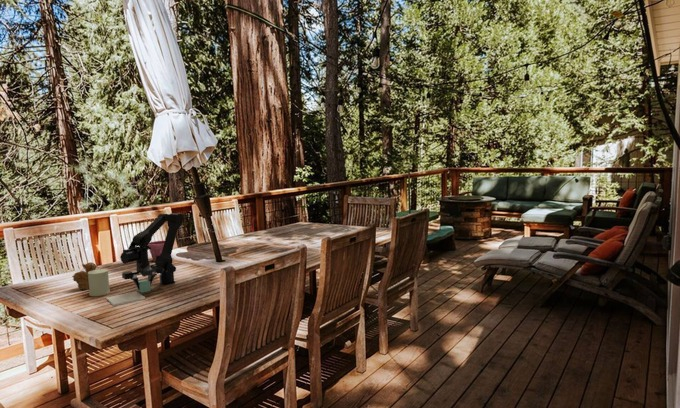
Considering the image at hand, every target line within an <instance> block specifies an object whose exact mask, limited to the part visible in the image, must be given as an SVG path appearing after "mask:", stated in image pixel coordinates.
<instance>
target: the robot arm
mask: <svg viewBox="0 0 680 408" xmlns="http://www.w3.org/2000/svg"><path fill="white" fill-rule="evenodd" d="M184 221H185V217H184V215H183V214H182V213H175V212H171V213H169V214H168V213H159V214H158V215H157V217H156V218H155V219H154V220H153V221H152V222H151V223H150V224H149V225H148V226H147V227H146V228H145V229H144V230H142V231H140V232H138V233H137V234H135V235H134V236H133V237H132V240H131V242H130V245H129V247H128V249H123V250H122V252H121V254H120V256H119V257H120V258H119V259H120V261H121V263H123V264H124V265H126V264H131V263H133V262H134V263H135V264H136V271H131V270H129V271H123V272H122V273H121V276H122V278H123V279H124V280H126V281H127V280H132V281H133V283H134V285H135V287H136V289H137V291H138V290H139V283H138V281H139V277H138V276H140V275H141V276H142V277H148V279H147V280H149V281H150V284H151V285H152V283H153V281H154V278H155V277H156V276H159V278H158V279H159V283H160V284H161V285H162V286H163V285H165V286H166V285H169V284H174V283H176V281H175V274H174V273H175V272H176V271H177V267H176V266H175V265H174V264H173V257H172V252H173V248H174V245H175V241H176V237H177V234H178V230H179V229H180V227H182V225H183V223H184ZM165 223H166V224H167V227H168V228H167V232H166V235H165V239H164V241H165V242H164V246H163V250H162V253H161V254H160V255H159V256H156V260H155V262H154V264H151V265H150V260H149V252H148V250H149V251H150V249H151V247H149V246H148V244H149V243H150V242H152V239H153V237H154V235H155V234H156V233H157V232H158V230H160V228H161V227H162V226H164V225H165ZM158 274H159V275H158Z"/></svg>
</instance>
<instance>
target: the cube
mask: <svg viewBox="0 0 680 408" xmlns="http://www.w3.org/2000/svg"><path fill="white" fill-rule="evenodd" d="M138 283H139V290H138V289H137V292H138V293H140V294H142V293H147V292H151V291H152V289H151V286H152V284H150V281H149V280H148V279H143V280H138Z"/></svg>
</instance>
